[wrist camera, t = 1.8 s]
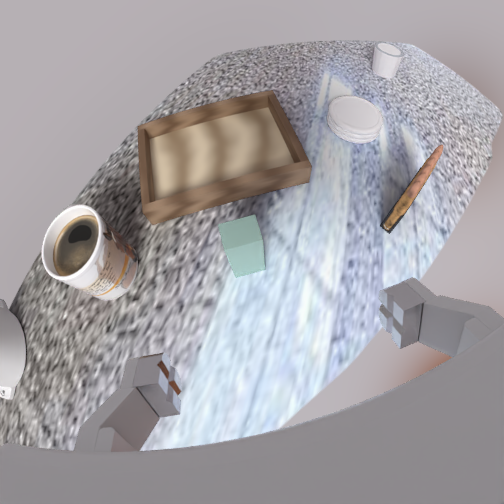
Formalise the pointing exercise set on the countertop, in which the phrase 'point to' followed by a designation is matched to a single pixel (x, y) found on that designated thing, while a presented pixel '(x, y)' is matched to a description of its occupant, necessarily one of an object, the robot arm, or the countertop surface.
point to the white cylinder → (386, 59)
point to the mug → (89, 253)
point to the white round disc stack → (354, 119)
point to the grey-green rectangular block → (243, 245)
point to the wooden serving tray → (217, 156)
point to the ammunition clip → (411, 192)
